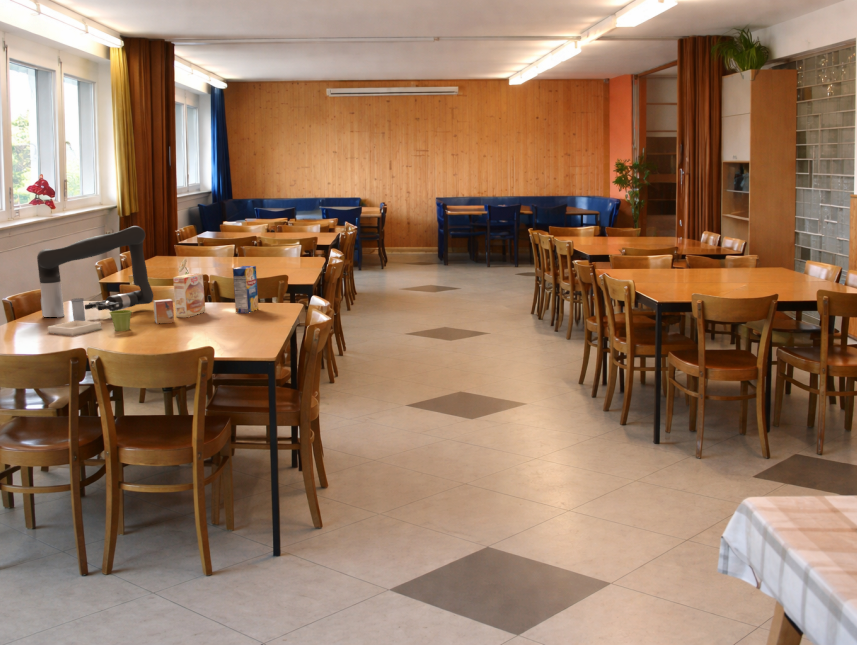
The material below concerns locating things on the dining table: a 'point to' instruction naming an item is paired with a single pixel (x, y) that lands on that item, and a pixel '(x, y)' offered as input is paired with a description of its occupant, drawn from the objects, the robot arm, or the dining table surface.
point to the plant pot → (121, 319)
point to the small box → (163, 311)
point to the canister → (78, 309)
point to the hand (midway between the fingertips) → (91, 307)
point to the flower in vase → (183, 266)
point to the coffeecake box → (189, 295)
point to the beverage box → (245, 289)
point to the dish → (74, 327)
